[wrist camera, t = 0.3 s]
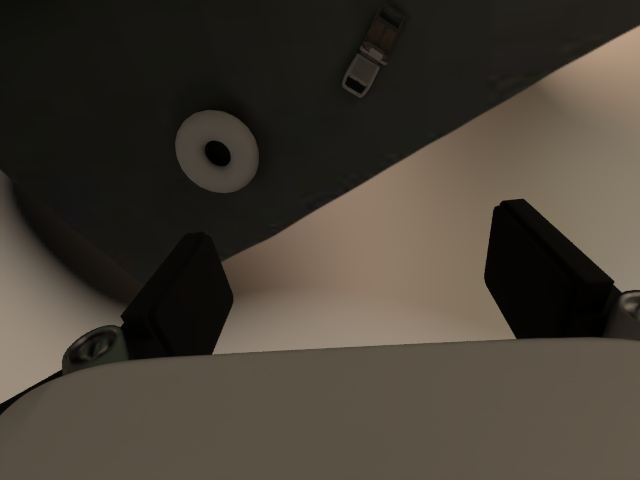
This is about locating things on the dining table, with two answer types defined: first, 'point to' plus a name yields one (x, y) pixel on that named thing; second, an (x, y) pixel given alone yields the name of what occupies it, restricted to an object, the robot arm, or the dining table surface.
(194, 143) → the donut
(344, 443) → the robot arm
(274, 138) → the dining table surface
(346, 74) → the strap clip
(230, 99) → the dining table surface
